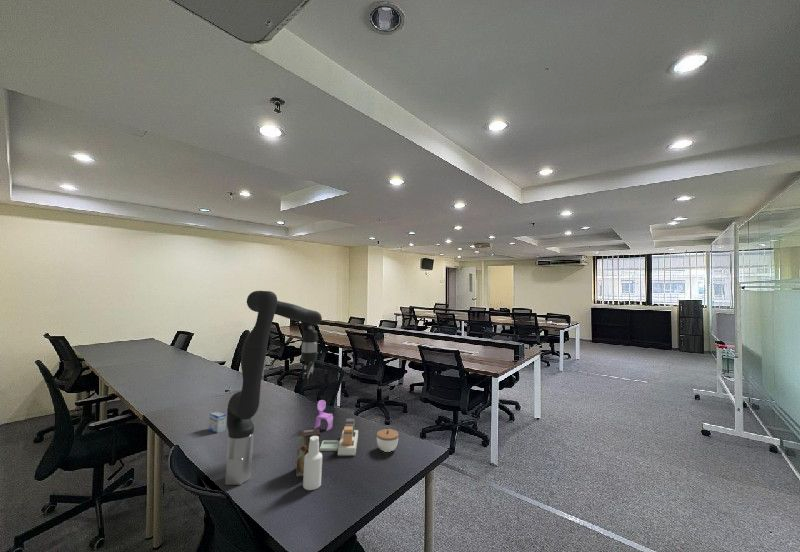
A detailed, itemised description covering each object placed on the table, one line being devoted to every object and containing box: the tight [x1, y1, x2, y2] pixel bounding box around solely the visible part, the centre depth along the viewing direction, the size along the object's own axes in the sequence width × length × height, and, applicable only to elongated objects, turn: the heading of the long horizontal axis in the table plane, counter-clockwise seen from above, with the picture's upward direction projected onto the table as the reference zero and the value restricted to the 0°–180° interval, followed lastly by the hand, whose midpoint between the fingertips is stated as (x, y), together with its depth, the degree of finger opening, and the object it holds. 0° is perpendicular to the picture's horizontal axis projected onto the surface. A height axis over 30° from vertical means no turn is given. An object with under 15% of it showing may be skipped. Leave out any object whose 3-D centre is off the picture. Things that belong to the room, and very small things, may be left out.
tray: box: [320, 439, 340, 452], centre depth 154 cm, size 8×8×2 cm
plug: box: [343, 425, 353, 446], centre depth 151 cm, size 4×4×10 cm
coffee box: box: [296, 428, 321, 477], centre depth 133 cm, size 9×6×16 cm
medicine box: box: [208, 411, 227, 434], centre depth 170 cm, size 8×4×9 cm, turn 62°
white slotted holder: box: [337, 418, 359, 457], centre depth 156 cm, size 20×8×11 cm, turn 4°
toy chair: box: [313, 399, 334, 431], centre depth 177 cm, size 8×9×15 cm
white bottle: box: [302, 436, 323, 491], centre depth 124 cm, size 7×7×18 cm
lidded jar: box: [376, 428, 400, 453], centre depth 154 cm, size 11×11×9 cm
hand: (307, 383), depth 159 cm, fingers open, 8 cm apart
